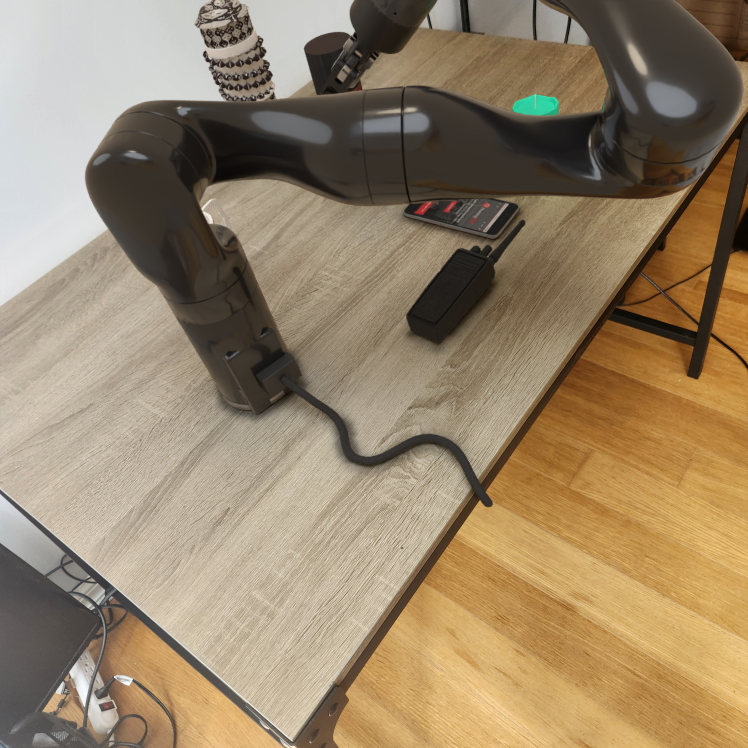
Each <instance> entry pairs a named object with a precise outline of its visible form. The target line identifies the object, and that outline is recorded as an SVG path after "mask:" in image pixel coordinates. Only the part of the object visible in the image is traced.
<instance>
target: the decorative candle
mask: <svg viewBox="0 0 748 748" xmlns="http://www.w3.org/2000/svg"><path fill="white" fill-rule="evenodd" d="M194 26H195V27H196V28H197V29H199V32H200V36H201V37H202V39H203V42H204V43H203V47H204V51H203V52H202V57H203V58H204V61H205V62H206V63H209V65H208V71H210V74H211V75H212V79H213V80H214V84H215V85H217V86H218V93H219V94H220V97H221V98H222V101H263V100H273V99H277V96H276V93H275V89H276V84H275V82H274V81H273V80H272V78H273V76H274V74H273V73H272V71H271V70H270V66H271V63H270V61H268V60H267V59H264V57H265V56H266V54H267V49H266V48H265V46H263V43H264V38H263V37H262V36H260V35H258V34H257V31H256V28H254V26H253V22H252V18H251V16H250V13H249V6H248V5H247V4H245V3H242V2H240V1H239V0H210V1H208V2H206V3H204V4H203V5H202V6H201V7H199V11H198V15H197V18H196V19H195V20H194Z"/></svg>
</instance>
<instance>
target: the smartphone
mask: <svg viewBox="0 0 748 748" xmlns="http://www.w3.org/2000/svg"><path fill="white" fill-rule="evenodd" d="M519 211H520V204H518V203H517V202H512V201H509V200H503V199H500V198H488V199H467V200H445V201H434V202H426V203H417V204H412V203H411V204H407V206H406V207H405V208H404V210H403V215H404V216H405V217H407V218H410V219H414V220H418V221H422V222H426V223H430V224H434V225H438V226H441V227H442V226H443V227H446V228H450V229H453V230H457V231H460V232H463V233H464V232H465V233H468V234H472V235H477V236H480V237H484V238H488V239H497V238H499V236H500V235H501V234H502V233H503V232H504V230H505V229H506V227H507V226H508V225H509V224H510V222H512V220H513V219H514V217H516V215H517V214H518V212H519Z"/></svg>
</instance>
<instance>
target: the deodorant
mask: <svg viewBox="0 0 748 748" xmlns="http://www.w3.org/2000/svg"><path fill="white" fill-rule="evenodd" d="M350 36H351V35H350V34H349V33H348V32H345V31H331V32H327V33H323V34H320V35H318V36H315V37H314V38H312V39H310V40H309V41H307V42H306V44H305V45H304V47H303V50H304V52H303V53H304V54H305V58H306V62H307V65H308V69H309V73H310V76H311V77H310V78H311V79H312V80H311V81H312V83H313V87H314V91H315V95H321V94H320V93H319V92H320V91H321V90H320V89H321V87H322V86H324V84H325V82H326V81H327V79H328V78H329V76H330V74H331V73H332V71H331V69H332V67H333V65H334V64H335V62H336V61H337V59H338V58H339V56H340V55H341V53H342V52H343V46H344V45H345V43H346V42H347V40H348V39H349V37H350ZM345 57H346V56H345ZM345 57H344V59H345ZM344 59H343V61H344ZM358 73H359V72H358ZM358 73H357V75H358ZM357 75H356V76H357ZM362 84H363V83H362V80H361V79H360V80H359V81H358V83H357V84H356V85H355V87H353V88H348V90H347V91H346V92H352V91H359V90H364V89H363V85H362Z"/></svg>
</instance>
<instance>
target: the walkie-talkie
mask: <svg viewBox="0 0 748 748" xmlns="http://www.w3.org/2000/svg"><path fill="white" fill-rule="evenodd" d="M525 225H526V220H525V219H521V220H520V221H518V222H517V224H516V225H515V226H514V227H513V228H512V230H511V231H510V232H509V233H507V236H506V237H504V238H503V240H502V241H501V242H500V243H499V245H497V246H496V247H495V248H494V249H493V247H492V246H491V245H490V244H486V245H485V246H484V247H483V248H482V249H481V247H480V246H479V245H476V244H475V245H473V246H471V248H470V249H467V248H465V247H458V248H457V249H455V251H454V252H453V253H452V254H451V256H450V257H449V258H447V261H446V262H445V263H444V264H443V265H442V267H440V270H438V272H437V273H436V274H435V275H434V276H433V277H432V279H431V280H430V281H429V282H428V284H427V285H426V286H425V288H424V289H423V291H422V292H421V293H420V295H419V296H418V298H417V299H416V300H415V302H414V303H413V305H411V307H410V308H409V310H408V311H407V313H406V315H405V318H406V322H407V324H408V328H409V331H410V332H412V333H414V334H416V335H418V336H420V337H423V338H425V339H427V340H428V341H430V342H433V343H436V344H439V345H440V344H441V343H443V341H444V340H445V338H447V336H448V335H449V334H450V333H451V332H452V330H453V329H454V328H455V327H456V326H457V325H458V324H459V322H460V321H461V320H462V319H463V318H464V316H466V314H467V313H468V312H469V310H470V309H471V308H472V307H473V305H475V303H476V302H478V300H479V299H480V298H481V297H482V295H483V294H484V293H485V292H486V290H487V289H488V288H489V287H490V285H491V284H492V282H493V281H494V279H495V278H496V269H495V265H496V264H498V262H499V260H500V259H501V257H502V256H503V254H504V252H506V250H507V249H508V247H509V246H510V245H511V243H512V242H513V241H514V239H515V238H516V237H517V236H518V234H519V233H520V232H521V230H522V229H523V228H524V227H525Z"/></svg>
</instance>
